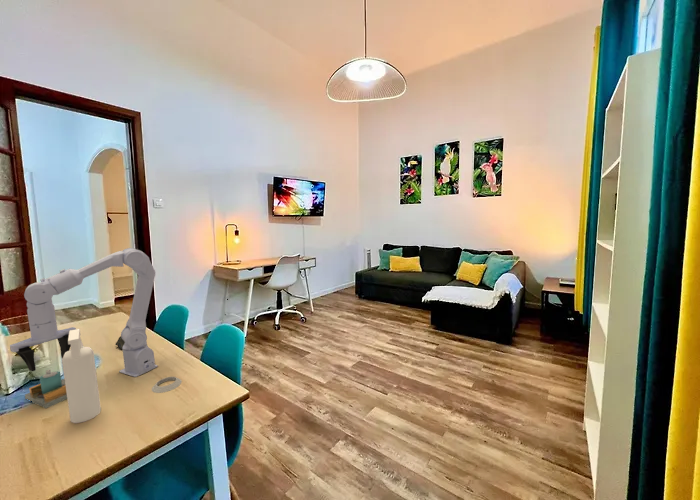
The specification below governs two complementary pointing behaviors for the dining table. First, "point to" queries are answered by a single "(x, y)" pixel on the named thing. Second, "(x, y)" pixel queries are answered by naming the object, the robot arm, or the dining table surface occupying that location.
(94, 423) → the dining table surface
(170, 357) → the dining table surface
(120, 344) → the stone
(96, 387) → the white bottle
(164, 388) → the ring
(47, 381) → the spout can
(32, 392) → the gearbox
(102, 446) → the dining table surface
